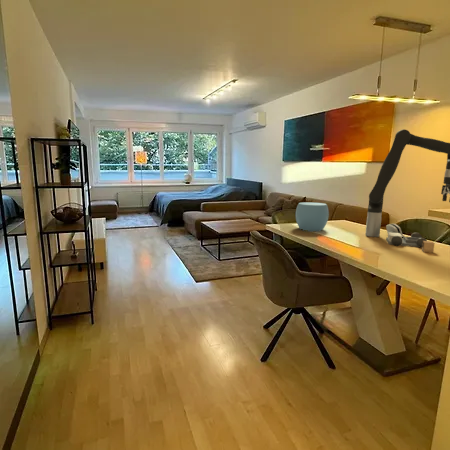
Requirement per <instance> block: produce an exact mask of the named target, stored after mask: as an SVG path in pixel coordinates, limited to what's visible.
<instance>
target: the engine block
mask: <svg viewBox="0 0 450 450" xmlns="http://www.w3.org/2000/svg"><path fill="white" fill-rule="evenodd" d="M434 248H435V242H434V241H433V240H432V241H430V240H429V241H428V240H427V241H423V242H422V248H421V252H422V253H423V254H434Z"/></svg>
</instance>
